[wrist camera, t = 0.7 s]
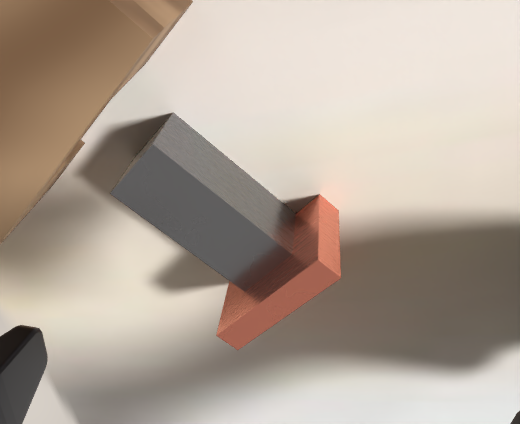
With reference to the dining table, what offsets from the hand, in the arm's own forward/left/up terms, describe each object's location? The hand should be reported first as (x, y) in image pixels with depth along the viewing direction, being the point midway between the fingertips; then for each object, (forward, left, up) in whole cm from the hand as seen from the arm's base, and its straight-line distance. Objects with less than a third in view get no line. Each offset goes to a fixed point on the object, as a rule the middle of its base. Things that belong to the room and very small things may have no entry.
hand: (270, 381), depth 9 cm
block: (+8, +5, -13) cm, 16 cm away
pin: (0, +5, -13) cm, 14 cm away
